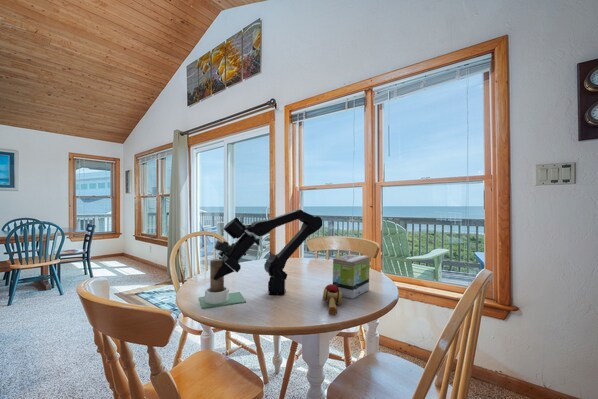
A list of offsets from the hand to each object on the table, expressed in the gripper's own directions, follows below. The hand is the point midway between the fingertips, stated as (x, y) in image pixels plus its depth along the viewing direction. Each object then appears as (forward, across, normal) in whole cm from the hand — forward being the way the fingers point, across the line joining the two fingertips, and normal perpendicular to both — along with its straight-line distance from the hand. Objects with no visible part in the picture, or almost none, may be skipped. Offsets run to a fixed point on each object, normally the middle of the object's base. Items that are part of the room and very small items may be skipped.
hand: (213, 277), depth 108 cm
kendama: (-21, +22, +35) cm, 46 cm away
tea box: (-32, +12, +45) cm, 57 cm away
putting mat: (+4, 0, +9) cm, 10 cm away
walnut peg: (+4, 0, +6) cm, 7 cm away
